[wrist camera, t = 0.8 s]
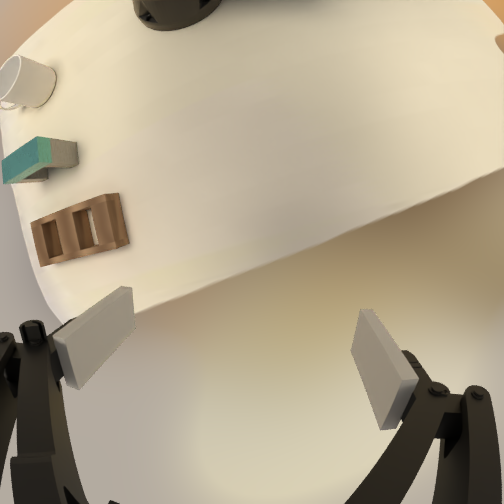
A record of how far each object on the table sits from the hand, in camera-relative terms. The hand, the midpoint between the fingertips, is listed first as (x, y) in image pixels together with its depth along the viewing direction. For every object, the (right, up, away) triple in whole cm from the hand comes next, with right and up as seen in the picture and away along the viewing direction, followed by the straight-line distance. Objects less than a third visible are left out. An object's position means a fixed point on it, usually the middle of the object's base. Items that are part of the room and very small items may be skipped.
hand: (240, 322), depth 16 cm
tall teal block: (-33, +19, +25) cm, 46 cm away
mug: (-42, +35, +22) cm, 59 cm away
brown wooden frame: (-28, +7, +27) cm, 39 cm away
